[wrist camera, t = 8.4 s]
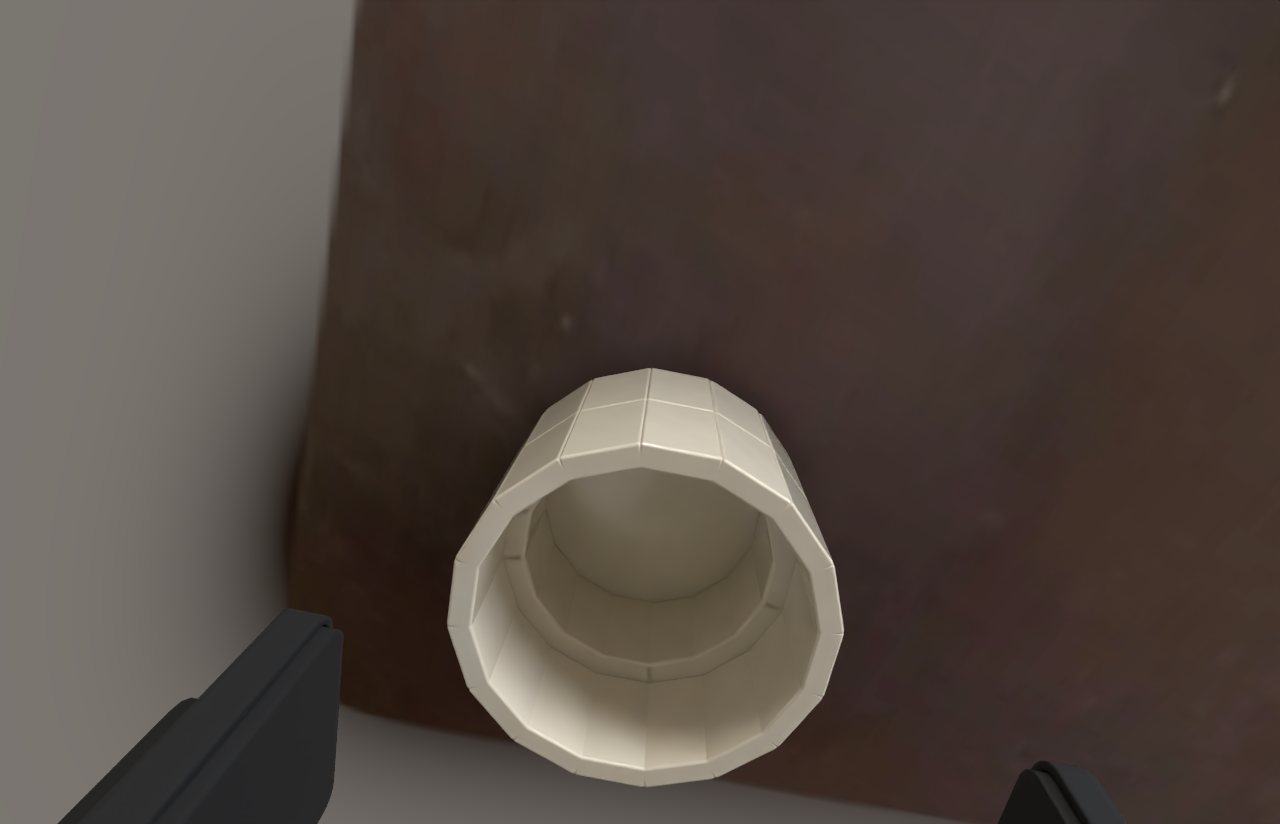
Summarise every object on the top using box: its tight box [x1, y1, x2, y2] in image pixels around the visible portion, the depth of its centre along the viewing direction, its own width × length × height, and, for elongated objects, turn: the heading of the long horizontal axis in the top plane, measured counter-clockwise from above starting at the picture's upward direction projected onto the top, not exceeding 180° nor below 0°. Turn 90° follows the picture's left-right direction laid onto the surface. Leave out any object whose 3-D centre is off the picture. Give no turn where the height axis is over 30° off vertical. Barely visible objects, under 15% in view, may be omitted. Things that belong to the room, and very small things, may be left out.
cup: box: [447, 368, 844, 787], centre depth 15 cm, size 7×7×6 cm
